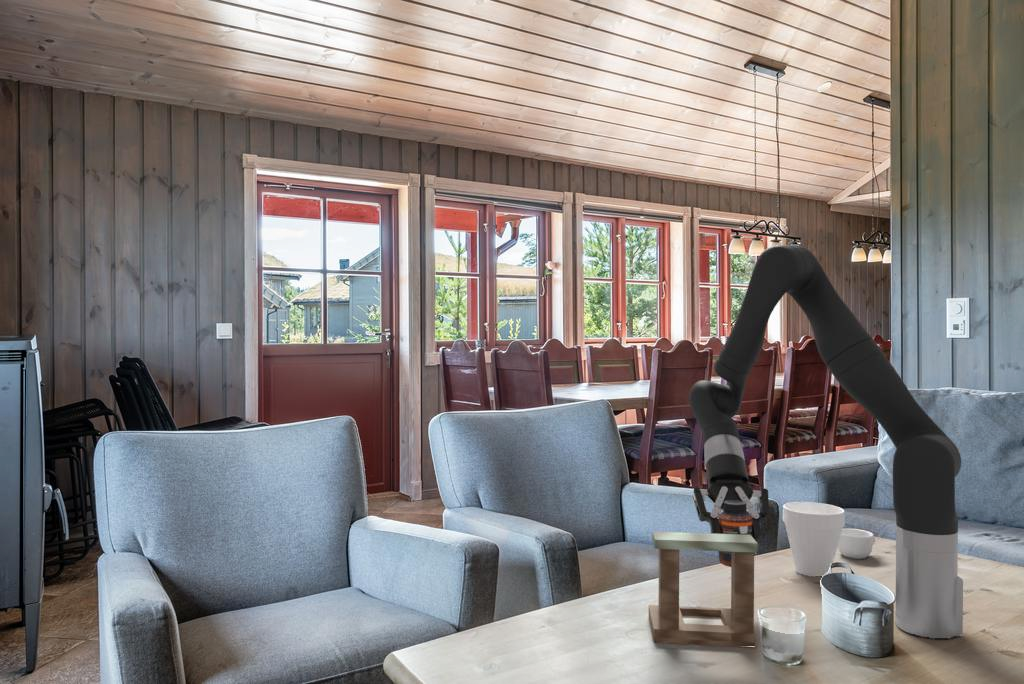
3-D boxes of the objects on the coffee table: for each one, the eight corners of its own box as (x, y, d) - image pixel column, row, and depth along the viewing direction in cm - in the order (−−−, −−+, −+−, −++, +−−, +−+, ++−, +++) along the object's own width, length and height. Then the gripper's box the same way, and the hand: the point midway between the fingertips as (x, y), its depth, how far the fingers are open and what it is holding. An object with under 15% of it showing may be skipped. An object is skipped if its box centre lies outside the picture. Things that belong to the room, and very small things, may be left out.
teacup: (854, 562, 164) (855, 538, 164) (828, 553, 171) (828, 530, 171) (888, 558, 167) (888, 534, 167) (860, 549, 175) (861, 526, 175)
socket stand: (741, 621, 129) (742, 524, 129) (756, 650, 117) (757, 543, 117) (648, 617, 130) (649, 521, 130) (654, 645, 119) (654, 539, 118)
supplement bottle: (754, 569, 131) (753, 506, 131) (720, 568, 132) (719, 505, 132) (751, 560, 137) (750, 498, 137) (717, 558, 138) (716, 498, 138)
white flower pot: (825, 585, 148) (826, 517, 148) (770, 570, 158) (771, 506, 158) (855, 573, 156) (855, 509, 156) (801, 559, 165) (801, 499, 165)
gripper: (689, 451, 142) (698, 528, 131) (766, 452, 141) (782, 530, 129) (686, 474, 148) (694, 550, 136) (760, 475, 146) (775, 551, 134)
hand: (737, 539), depth 133 cm, fingers closed on supplement bottle, 6 cm apart
